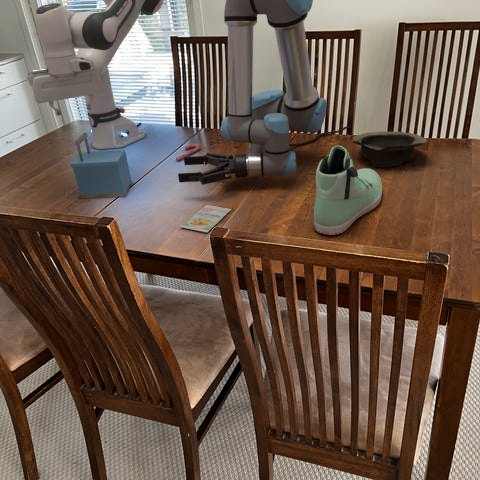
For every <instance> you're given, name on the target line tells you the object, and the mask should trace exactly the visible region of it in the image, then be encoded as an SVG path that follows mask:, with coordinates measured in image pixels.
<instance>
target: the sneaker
mask: <svg viewBox="0 0 480 480" xmlns="http://www.w3.org/2000/svg"><path fill="white" fill-rule="evenodd" d="M317 165H318V166H317V168H316V172H315V201H314V207H313V225H314V229H315V231H316V232H318V233H320V234H323V235H326V236H327V235H328V236H336V235H339V234H342V233H344V232H345V231H347V230H348V229H349V228H350V227H351V226H352V225H353V224H354V222H356V221H357V220H358V219H359V218H360V217H362V216H363V215H365V214H367V213H370V212H372V210H374V209H375V208H377V207H378V205H380V203H381V200H382V196H383V184H382V183H383V182H382V179H381V176H380V175H379V173H378V172H377V171H376V170H374V169H372V168H367V167H365V168H358V169H357V168H355V167H354V161H353V159H352V158H351V156H350V153H349V152H348V150H347V148H345V147H344V146H342V145H334V146H333V147H331V149H330V151H329V154H327V155H326V156H325V157H324V158H322V159H321V160H320V161H319V163H318V164H317ZM343 230H344V231H343ZM319 231H320V232H319ZM322 232H323V233H322ZM339 232H340V233H339ZM326 233H327V234H326ZM328 233H329V234H328ZM335 233H337V234H335Z"/></svg>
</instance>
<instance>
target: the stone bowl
mask: <svg viewBox="0 0 480 480" xmlns="http://www.w3.org/2000/svg"><path fill="white" fill-rule="evenodd" d="M428 142H429V140H428V139H427V138H425V137H423V136H421V135H418V134H415V133H412V132H404V131H376V132H375V131H374V132H373V131H372V132H364V133H362V134H356V135H355V136H353V137H352V141H351V143H353V144H355V145H358V146H360V149H361V153H362V154H363V156H364V157H365V158H366V159H367V160H370V161H371V166H373V167H376V168H377V167H380V168H389V167H397V166H400V165H402V162H403V161H404V162H408V161H409V162H410V161H412V160H413V157H414V153H415V148H416V147H419V146H423V145H424V144H426V143H428Z"/></svg>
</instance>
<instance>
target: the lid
mask: <svg viewBox="0 0 480 480" xmlns="http://www.w3.org/2000/svg"><path fill="white" fill-rule="evenodd" d="M83 142H84V145H85V148H86V151H82V149H81V146H80V145H81V144H82V143H83ZM73 144H74V145H75V146H76V149H77V152H78V155H77V156H75V158H73V159H72V161H71V162H70V163H69V165H70V168H73V167H86V166H108V165H118V164H119V162H120V161H121V160H122V158H123V157H124V155H125V154H126V153H127V152H126V149H119V150H118V149H117V150H97V151H95V150H94V151H91V150H90V146H89V141H88V133H87V132H83V133H82V134H81V135H80V136H79V137H77V138H76V140H75V141H74V142H73ZM126 155H127V154H126Z"/></svg>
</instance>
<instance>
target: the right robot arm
mask: <svg viewBox="0 0 480 480" xmlns="http://www.w3.org/2000/svg"><path fill="white" fill-rule="evenodd" d="M313 2H314V0H225V4H224V11H223V13H224V14H223V17H224V18H223V20H224V21H223V22H224V24H225V25H226V27H227V58H228V59H227V70H228V71H227V75H228V77H227V78H228V79H227V81H228V82H227V83H228V84H227V85H228V91H227V93H228V116H226V117H224V118H223V119H222V121H221V126H220V135H221V137H222V139H224V140H225V141H230V142H234V143H243V144H244V143H245V144H249V147H248V153H247V154H245V153H238V154H237V153H236V154H235V155H234V156H233V154H220V153H213V152H206V153H205V154H204V155H195V156H187V157H184V158H183V164H184V166H199V165H200V166H201V165H211V166H214V168H211V169H209V170H207V171H204V172H202V171H198V172H197V171H196V172H182V173H181V172H180V173H178V174H177V177H178V183H193V182H194V183H196V182H200V185H202V186H205V185H208V184H212V183H217V182H220V181H224V180H231V179H232V178H233V176H232V175H233V174H234V175H235V178H236V179H244V178H245V179H247V177H249V178H256V179H259V178H264V177H285V176H292V175H295V174H296V173H297V172H296V171H297V155H296V152H295V151H292V150H290V147H299V146H303V145H307V144H310V143H312V142H314V141H316V140H317V139H318V138H319V137H322V136H325V135H333V134H339V133H342V132H343V131H345V130H352V127H350V126H349V125H347V126H346V125H345V126H344V127H342V128H340V129H338V130H332V131H325V132H320V130H321V129H322V127H323V125H324V122H325V119H326V113H327V105H328V104H327V100H326V99H325V98H324V97H320V94H319V90H318V89H317V88H316V87H314V85H313V78H312V71H311V64H310V58H309V57H310V56H309V50H308V43H307V36H306V28H305V23H304V22H305V20H306V19H307V17H308V14H309V12H310V11H311V9H312V7H313ZM258 15H265V17H266V20H267V24H268V26H269V27H271V28H273V29H274V35H275V39H276V44H277V48H278V54H279V60H280V65H281V71H282V75H283V81H284V86H285V91H286V93H285V92H284V91H283V90H282V89H269V90H264V91H260V92H258V93H255V94H254V95H253V82H254V81H253V74H254V72H253V71H254V70H253V69H254V66H253V65H254V28H255V26H256V24H258ZM290 132H294V133H304V134H316V136H315V137H313V138H312V139H309V140H306V141H302V142H297V143H290ZM318 132H320V133H319V134H317V133H318Z"/></svg>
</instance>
